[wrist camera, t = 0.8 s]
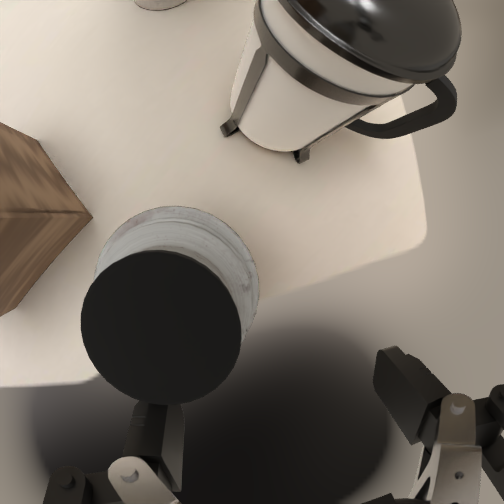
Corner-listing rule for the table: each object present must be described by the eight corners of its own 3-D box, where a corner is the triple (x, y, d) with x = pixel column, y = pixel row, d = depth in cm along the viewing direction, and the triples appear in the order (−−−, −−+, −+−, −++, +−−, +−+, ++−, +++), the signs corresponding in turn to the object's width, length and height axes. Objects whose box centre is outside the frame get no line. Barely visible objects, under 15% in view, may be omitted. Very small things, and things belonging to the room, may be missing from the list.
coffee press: (246, 193, 36) (419, 110, 7) (198, 79, 33) (220, -134, 4) (363, 150, 38) (562, 88, 9) (316, 50, 35) (443, -87, 6)
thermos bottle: (236, 251, 36) (346, 339, 9) (187, 296, 36) (170, 474, 9) (192, 200, 35) (169, 134, 8) (142, 246, 35) (0, 319, 7)
